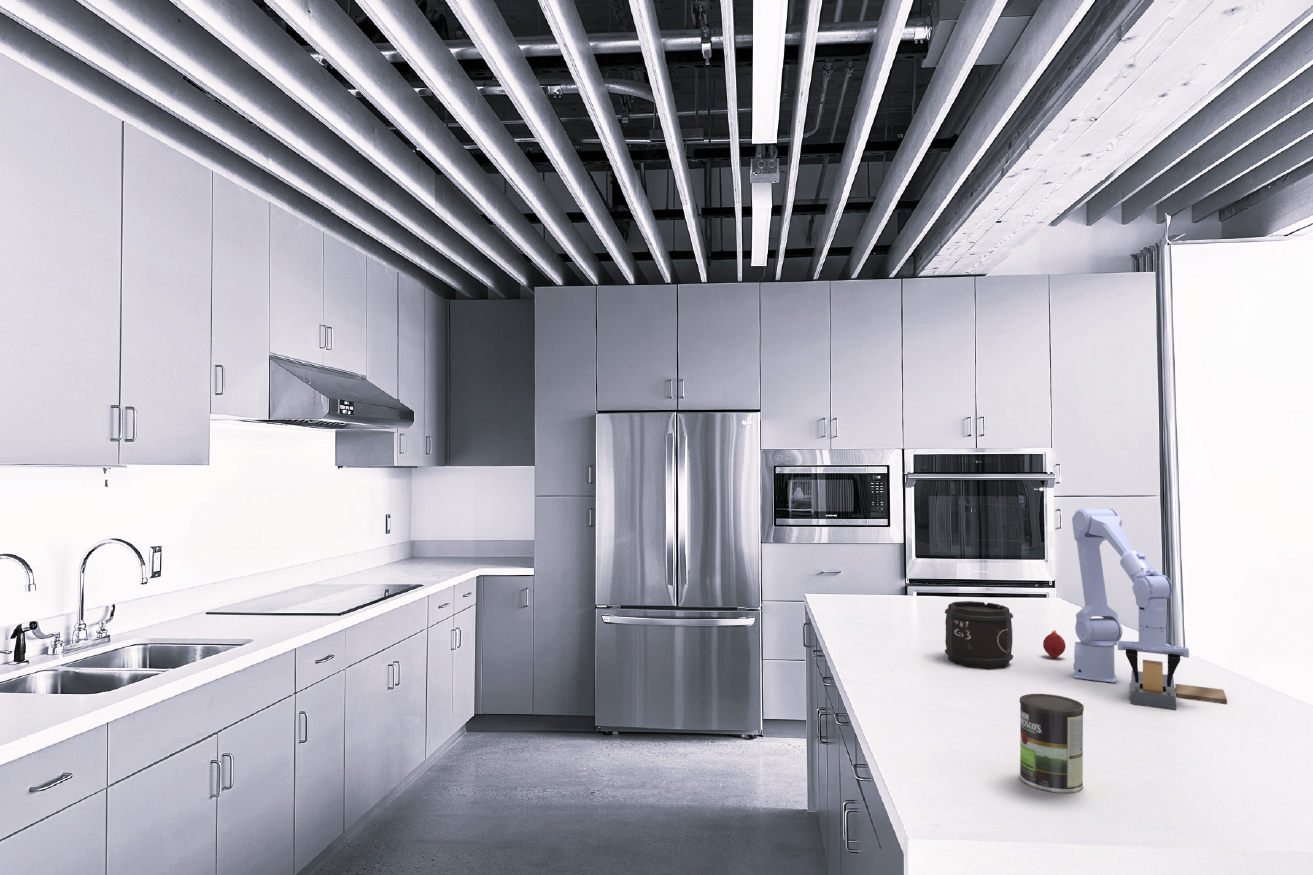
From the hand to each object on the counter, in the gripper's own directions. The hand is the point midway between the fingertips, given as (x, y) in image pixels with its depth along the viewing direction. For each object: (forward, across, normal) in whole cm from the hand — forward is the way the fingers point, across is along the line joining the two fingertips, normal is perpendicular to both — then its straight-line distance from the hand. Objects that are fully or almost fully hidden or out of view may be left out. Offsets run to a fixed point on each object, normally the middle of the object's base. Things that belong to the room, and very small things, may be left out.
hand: (1152, 683), depth 199 cm
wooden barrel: (+4, -42, +18) cm, 46 cm away
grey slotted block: (+4, 0, +5) cm, 6 cm away
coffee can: (+4, -16, -68) cm, 70 cm away
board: (+4, +10, +11) cm, 15 cm away
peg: (+4, 0, 0) cm, 4 cm away
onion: (+4, -24, +34) cm, 42 cm away
